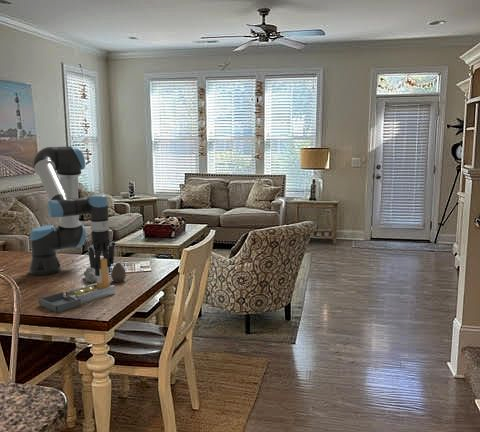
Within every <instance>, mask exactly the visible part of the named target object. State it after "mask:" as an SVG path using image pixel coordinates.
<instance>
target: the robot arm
mask: <svg viewBox="0 0 480 432" xmlns="http://www.w3.org/2000/svg"><path fill="white" fill-rule="evenodd" d="M32 161H33V162H32V166H33V167H32V168H33V171H34V172H35V174H36V175H38V176H39V180H40V181H41V184H42V186H43V189H44V190H45V193H46V194H47V197H48V200H49V201H48V202H47V206H46V207H47V213H48V216H49V217H50V218H60V219H61V220H60V221H59V222H58V226H57V227H55V226H54V225H53V224H49V225H48V224H47V225H42V226H39V227H36V228H33V229H31V231H30V233H29V234H30V235H29V236H30V237H29V240H30V249H31V250H30V251H31V261H30V265H29V269H28V270H29V275H32V276H33V275H34V276H47V275H53V274H57V273H58V272H60V271H61V270H62V267H61V266H62V265H61V263H60V261H59V259H58V257H57V251H59V250H65V249H76V248H80V247H83V245H84V244H85V241H86V237H87V236H86V235H87V233H86V227H85V226H84V225H83V223H82V222H81V221H80V220H79V218H80V216H84V215H89V216H90V230H91V231H90V234H91V235H90V236H91V240H92V242H91V244H90V246H86V251H87V254H88V259H89V265H90V266H89V267H91V268H94V269H95V275H96V276H97V282H98V283H102V273H101V269H100V258H101V254H102V258H106V259H107V270H108V281H110V274H111V267H112V265H113V264H115V263H114V262H115V259H114V257H115V256H114V255H115V245H116V242H114V241H111V240H110V230H109V228H110V224H109V202H108V197H107V195H106V194H100V193H98V194H90V196H88V195H87V196H85V197H79V176H80V175H82V171H83V170H84V169H85V168H86V159H85V156H84V153H83V151H82V148H81V147H79V146H47V147H44V148H41V150H39V151H37V153H36V154H35V156H34V158H33V160H32ZM97 282H96V283H97Z"/></svg>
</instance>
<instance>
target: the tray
mask: <svg viewBox="0 0 480 432" xmlns="http://www.w3.org/2000/svg"><path fill="white" fill-rule="evenodd" d="M38 304H39V305H41V306H40V307H42V306H43V308H44V307H45V308H44V309H46V308H47V309H46V310H48V309H49V310H48V311H51V312H53V313H56V314H58V313H63V312H65V311H69V310H73V309H75V308H79V307H81V306H82V304H81V299H76V300H72V299H70V298H67V297H66V296H65V294H64V292H63V291H60V292H57V293H54V294H50V295H46V296H43V297H40V298H38ZM39 305H38V306H39Z"/></svg>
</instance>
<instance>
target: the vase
mask: <svg viewBox="0 0 480 432" xmlns="http://www.w3.org/2000/svg"><path fill="white" fill-rule="evenodd" d="M114 264H115V265H114V266H113V267H112V269H111V270H110V277H111V279H112V281H113V282H115V283H122V282H123V281H124V280H125V279H126V277H127V271H126V268H125V267H124V266H123V264H122V263H121V262H116V263H114Z"/></svg>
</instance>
